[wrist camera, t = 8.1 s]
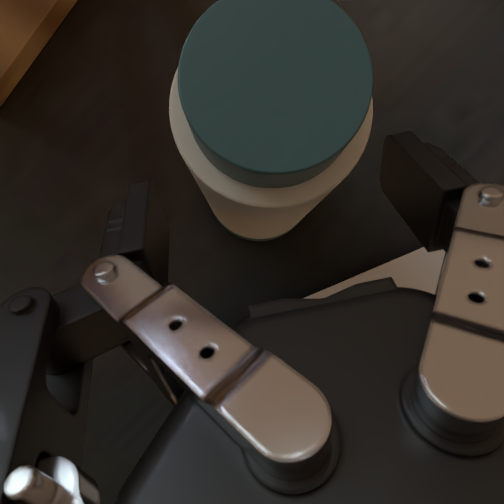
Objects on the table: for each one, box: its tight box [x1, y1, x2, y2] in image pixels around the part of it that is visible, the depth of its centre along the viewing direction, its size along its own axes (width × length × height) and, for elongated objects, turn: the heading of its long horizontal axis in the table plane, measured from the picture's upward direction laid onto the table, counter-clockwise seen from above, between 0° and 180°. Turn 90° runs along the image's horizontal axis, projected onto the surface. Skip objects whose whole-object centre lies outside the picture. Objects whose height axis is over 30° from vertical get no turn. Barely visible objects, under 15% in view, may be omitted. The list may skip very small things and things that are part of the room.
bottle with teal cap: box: [169, 0, 373, 241], centre depth 14 cm, size 6×6×12 cm
